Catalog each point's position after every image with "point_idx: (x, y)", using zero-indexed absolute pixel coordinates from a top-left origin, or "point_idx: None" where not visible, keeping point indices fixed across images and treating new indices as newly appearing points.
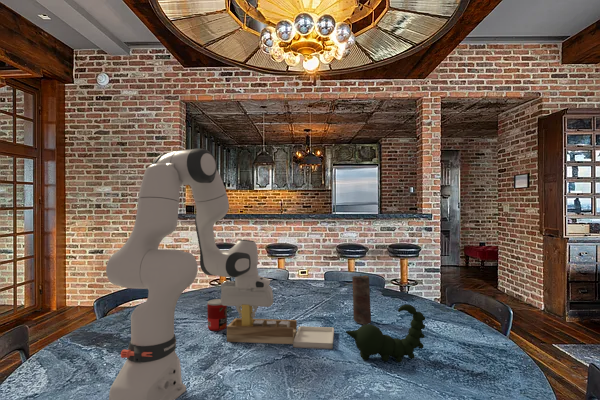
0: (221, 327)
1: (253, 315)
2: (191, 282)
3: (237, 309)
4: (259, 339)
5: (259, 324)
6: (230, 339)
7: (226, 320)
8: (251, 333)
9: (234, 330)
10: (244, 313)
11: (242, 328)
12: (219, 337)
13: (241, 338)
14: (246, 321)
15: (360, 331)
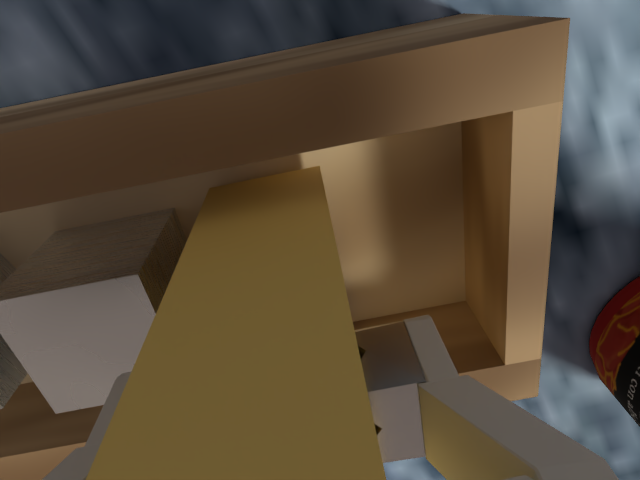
0: (637, 301)
1: (116, 404)
2: None
3: (548, 444)
4: (30, 105)
5: (35, 286)
6: (423, 22)
7: (631, 395)
8: (108, 98)
9: (394, 46)
10: (270, 352)
11: (248, 81)
12: (592, 112)
13: (273, 56)
14: (238, 250)
15: None
